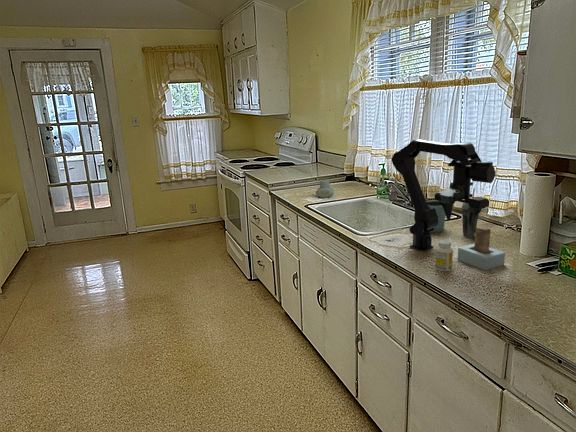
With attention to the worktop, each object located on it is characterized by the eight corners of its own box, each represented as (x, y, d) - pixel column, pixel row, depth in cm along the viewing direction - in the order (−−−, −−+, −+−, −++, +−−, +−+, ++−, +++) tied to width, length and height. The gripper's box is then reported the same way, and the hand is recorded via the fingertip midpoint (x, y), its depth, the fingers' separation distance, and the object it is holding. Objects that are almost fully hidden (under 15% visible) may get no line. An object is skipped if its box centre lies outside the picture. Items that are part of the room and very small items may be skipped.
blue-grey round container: (446, 227, 191) (448, 201, 188) (444, 233, 182) (445, 206, 179) (423, 225, 195) (424, 199, 192) (420, 231, 186) (420, 205, 183)
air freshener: (334, 195, 265) (333, 179, 262) (333, 198, 257) (333, 182, 254) (316, 195, 266) (316, 179, 264) (315, 198, 259) (315, 182, 256)
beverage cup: (455, 234, 180) (458, 188, 175) (469, 232, 183) (472, 186, 177) (468, 239, 174) (471, 191, 168) (482, 236, 176) (485, 189, 171)
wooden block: (473, 259, 151) (475, 227, 148) (478, 258, 152) (481, 226, 149) (482, 263, 147) (485, 230, 144) (487, 261, 148) (490, 229, 145)
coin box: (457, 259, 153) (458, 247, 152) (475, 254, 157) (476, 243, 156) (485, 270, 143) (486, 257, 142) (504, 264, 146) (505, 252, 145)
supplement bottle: (439, 272, 143) (440, 245, 141) (432, 266, 148) (433, 240, 146) (454, 270, 144) (456, 243, 141) (447, 265, 149) (448, 238, 146)
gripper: (424, 179, 152) (423, 221, 156) (470, 186, 136) (467, 233, 140) (445, 175, 157) (443, 216, 161) (491, 182, 142) (488, 226, 146)
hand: (459, 222), depth 152 cm, fingers open, 9 cm apart
